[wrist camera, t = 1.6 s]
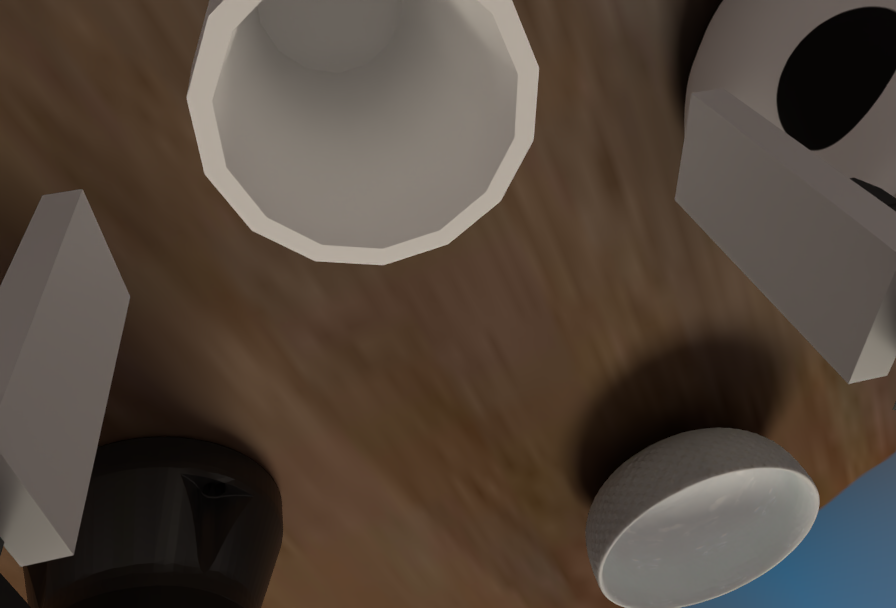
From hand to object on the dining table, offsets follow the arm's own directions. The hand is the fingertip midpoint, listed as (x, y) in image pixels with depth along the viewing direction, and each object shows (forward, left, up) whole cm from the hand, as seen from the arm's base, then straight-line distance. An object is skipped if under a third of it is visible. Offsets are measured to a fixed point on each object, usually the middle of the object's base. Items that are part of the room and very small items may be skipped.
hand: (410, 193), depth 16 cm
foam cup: (0, 0, -18) cm, 18 cm away
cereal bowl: (+20, -38, -18) cm, 47 cm away
